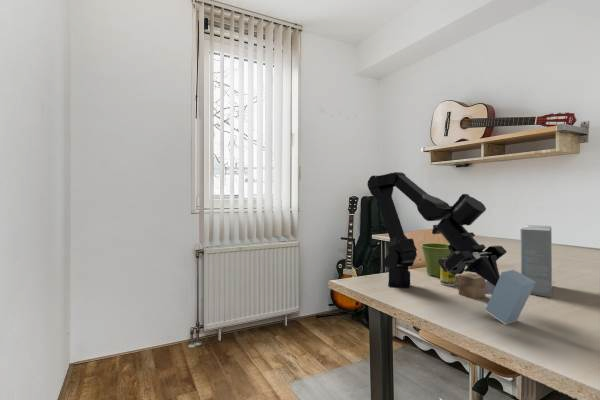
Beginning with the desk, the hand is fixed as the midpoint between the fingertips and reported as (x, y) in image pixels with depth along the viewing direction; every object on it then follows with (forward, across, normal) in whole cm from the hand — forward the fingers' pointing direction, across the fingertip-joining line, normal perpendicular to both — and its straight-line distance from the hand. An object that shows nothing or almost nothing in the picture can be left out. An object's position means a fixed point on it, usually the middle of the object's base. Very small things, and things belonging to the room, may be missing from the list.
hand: (499, 286), depth 74 cm
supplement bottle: (-12, -16, -23) cm, 31 cm away
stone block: (-6, -22, -18) cm, 29 cm away
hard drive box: (0, -35, -11) cm, 37 cm away
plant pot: (-19, -23, -30) cm, 42 cm away
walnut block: (-4, -11, -15) cm, 19 cm away
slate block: (+5, 0, -5) cm, 7 cm away
